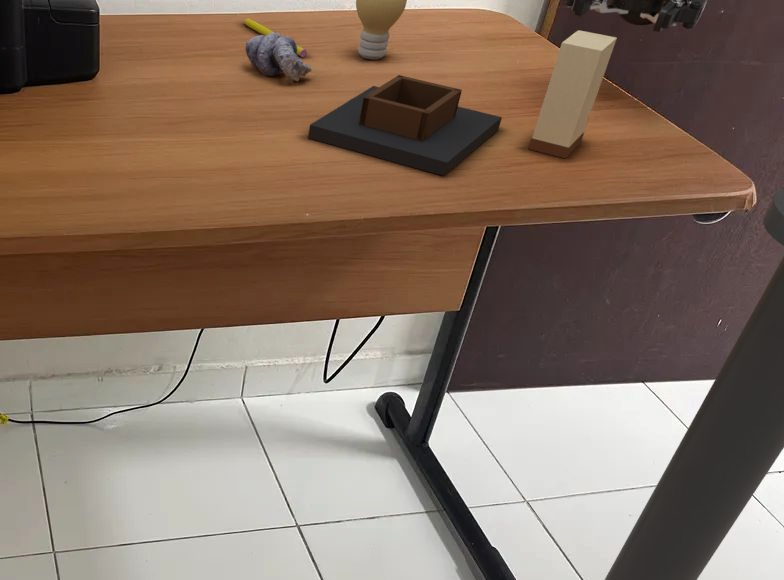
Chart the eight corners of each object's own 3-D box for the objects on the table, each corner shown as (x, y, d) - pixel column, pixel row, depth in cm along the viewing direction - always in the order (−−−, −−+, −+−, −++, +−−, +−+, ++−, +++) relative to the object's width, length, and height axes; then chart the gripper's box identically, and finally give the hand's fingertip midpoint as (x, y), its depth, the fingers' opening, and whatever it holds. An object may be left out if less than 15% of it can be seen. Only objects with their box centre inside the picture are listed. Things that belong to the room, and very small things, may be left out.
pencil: (306, 56, 120) (307, 49, 120) (300, 57, 120) (301, 49, 119) (246, 22, 131) (246, 15, 131) (240, 23, 131) (240, 15, 130)
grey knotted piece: (306, 93, 114) (245, 75, 119) (326, 52, 112) (264, 36, 118) (288, 73, 109) (226, 56, 114) (308, 30, 108) (245, 15, 113)
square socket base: (498, 130, 102) (510, 89, 99) (443, 176, 93) (454, 133, 90) (371, 98, 109) (378, 59, 106) (307, 138, 100) (313, 96, 97)
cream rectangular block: (580, 142, 100) (617, 37, 93) (565, 158, 97) (602, 50, 89) (544, 133, 102) (577, 29, 94) (527, 149, 99) (561, 42, 91)
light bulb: (363, 66, 118) (378, -18, 111) (338, 51, 122) (351, -31, 115) (404, 61, 120) (421, -22, 113) (378, 47, 124) (393, -34, 117)
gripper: (607, -62, 109) (566, -36, 99) (734, -42, 103) (703, -13, 93) (585, 6, 114) (544, 37, 104) (705, 28, 108) (673, 63, 98)
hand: (619, 13), depth 99 cm, fingers open, 8 cm apart
